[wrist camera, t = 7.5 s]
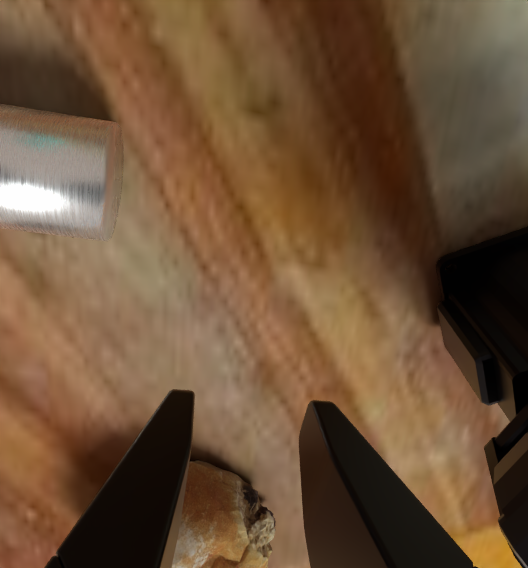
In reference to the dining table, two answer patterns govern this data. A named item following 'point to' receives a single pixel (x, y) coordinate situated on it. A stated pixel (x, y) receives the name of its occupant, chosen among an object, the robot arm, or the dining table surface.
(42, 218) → the tube
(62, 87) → the dining table surface
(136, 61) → the dining table surface
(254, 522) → the bread roll
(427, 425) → the dining table surface
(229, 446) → the dining table surface
